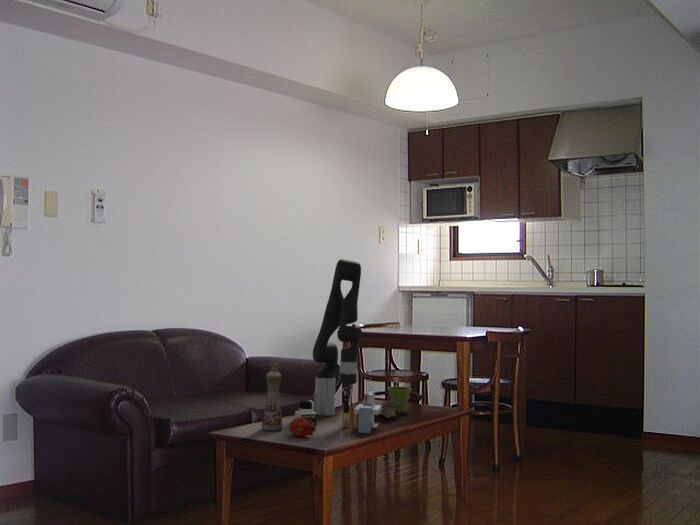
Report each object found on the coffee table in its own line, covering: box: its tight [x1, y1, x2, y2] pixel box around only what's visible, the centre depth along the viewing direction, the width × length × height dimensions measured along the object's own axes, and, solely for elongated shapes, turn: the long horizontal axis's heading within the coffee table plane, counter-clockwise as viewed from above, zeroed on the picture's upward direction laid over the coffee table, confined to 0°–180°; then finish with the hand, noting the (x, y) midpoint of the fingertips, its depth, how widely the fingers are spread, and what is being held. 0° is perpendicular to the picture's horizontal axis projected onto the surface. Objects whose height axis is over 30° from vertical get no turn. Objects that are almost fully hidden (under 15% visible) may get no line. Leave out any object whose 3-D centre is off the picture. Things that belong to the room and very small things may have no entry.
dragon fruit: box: [287, 417, 316, 439], centre depth 321 cm, size 8×8×12 cm
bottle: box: [261, 361, 284, 432], centre depth 336 cm, size 9×9×28 cm
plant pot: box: [386, 386, 412, 414], centre depth 392 cm, size 12×12×11 cm
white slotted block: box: [379, 399, 404, 419], centre depth 373 cm, size 16×9×15 cm
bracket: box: [358, 403, 374, 434], centre depth 340 cm, size 5×12×10 cm, turn 172°
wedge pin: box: [342, 399, 351, 423], centre depth 348 cm, size 3×3×13 cm
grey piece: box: [353, 392, 382, 429], centre depth 345 cm, size 10×14×14 cm
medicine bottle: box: [294, 399, 318, 431], centre depth 339 cm, size 7×7×12 cm
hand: (346, 412), depth 348 cm, fingers closed on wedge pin, 2 cm apart
